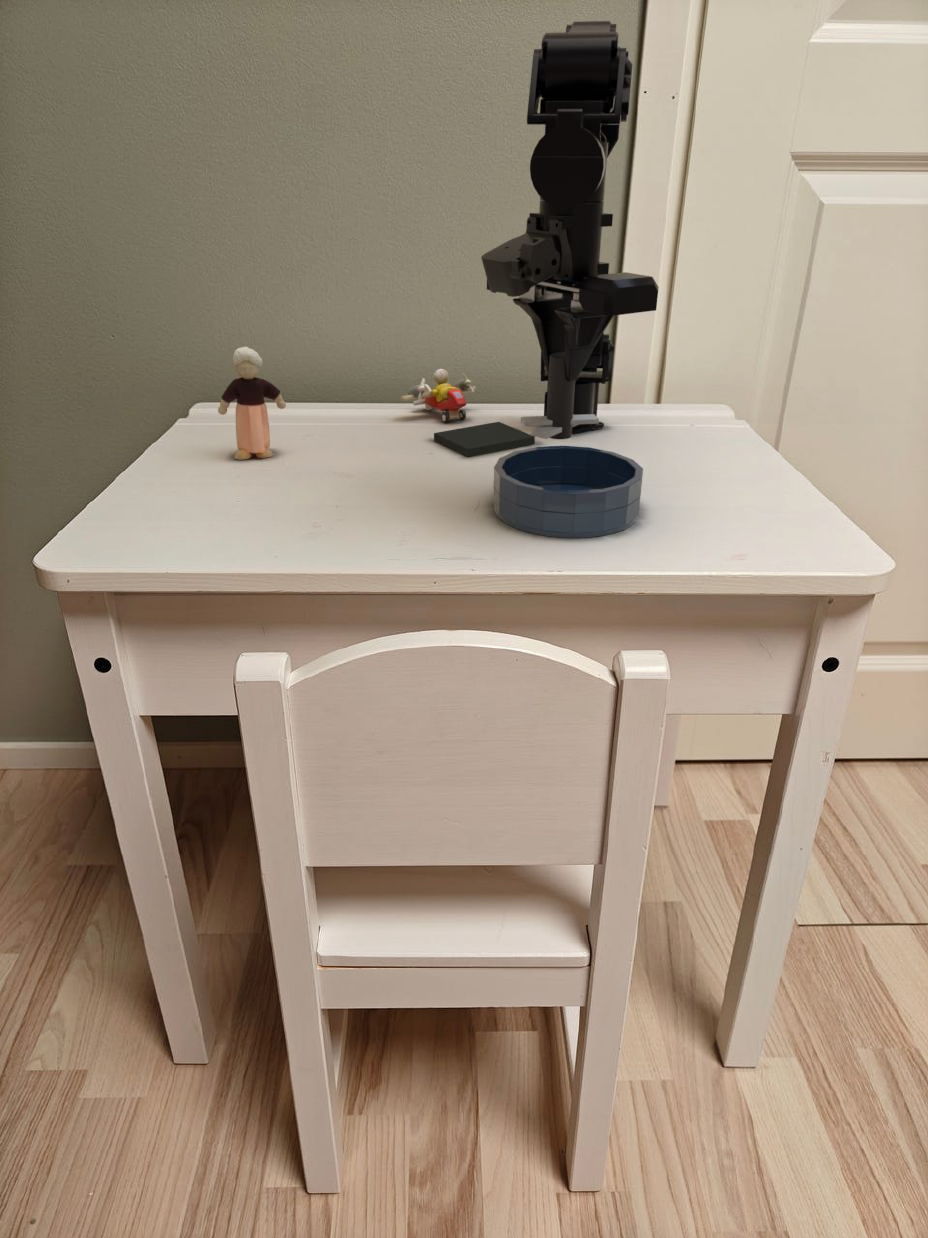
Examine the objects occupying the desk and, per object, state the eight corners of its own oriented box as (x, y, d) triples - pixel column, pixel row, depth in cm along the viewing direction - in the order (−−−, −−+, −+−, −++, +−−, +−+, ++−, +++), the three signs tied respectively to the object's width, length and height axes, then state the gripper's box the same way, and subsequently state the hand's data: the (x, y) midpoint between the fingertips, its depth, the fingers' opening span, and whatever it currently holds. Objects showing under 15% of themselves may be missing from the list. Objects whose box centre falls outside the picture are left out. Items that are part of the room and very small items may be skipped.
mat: (498, 428, 114) (498, 421, 113) (534, 443, 108) (535, 436, 107) (433, 440, 109) (433, 432, 109) (467, 457, 103) (467, 448, 103)
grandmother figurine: (230, 464, 100) (216, 352, 94) (222, 455, 103) (208, 346, 97) (294, 455, 104) (284, 346, 98) (284, 446, 107) (274, 340, 101)
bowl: (576, 477, 97) (578, 438, 95) (669, 518, 86) (674, 475, 84) (467, 501, 90) (467, 460, 88) (553, 549, 79) (555, 503, 77)
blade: (573, 424, 91) (578, 346, 87) (603, 435, 87) (610, 354, 83) (513, 435, 87) (516, 354, 83) (542, 448, 84) (546, 364, 80)
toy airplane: (464, 425, 115) (464, 377, 112) (399, 421, 117) (397, 373, 114) (478, 408, 123) (479, 362, 120) (417, 404, 125) (416, 359, 122)
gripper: (440, 198, 80) (441, 369, 87) (567, 209, 66) (556, 411, 74) (536, 195, 85) (530, 356, 93) (672, 205, 71) (651, 393, 79)
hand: (561, 377), depth 84 cm, fingers closed on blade, 2 cm apart
